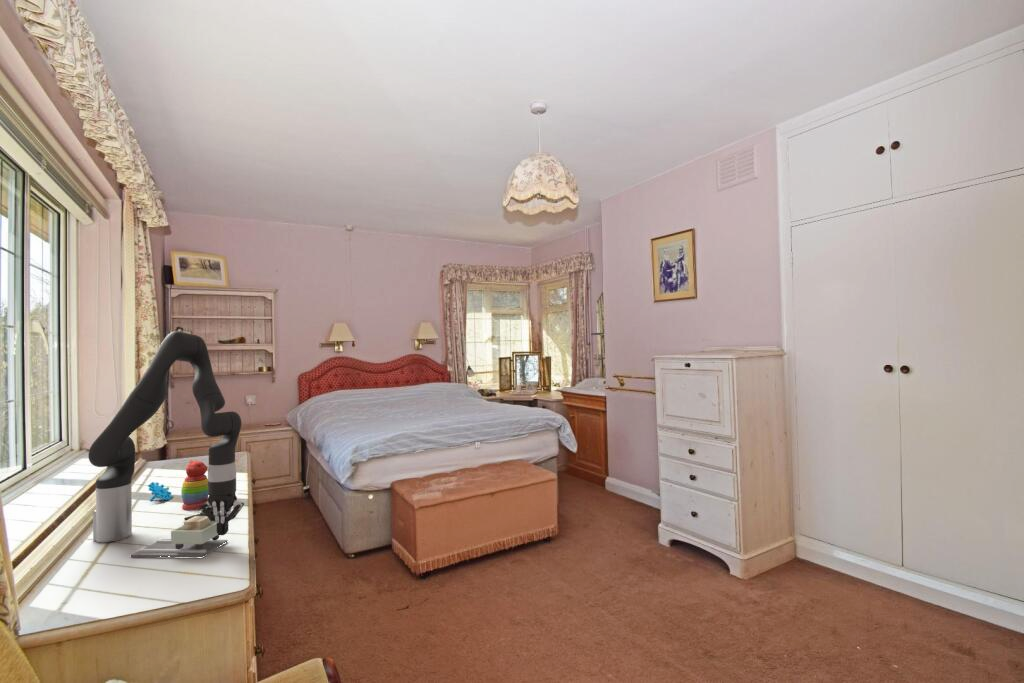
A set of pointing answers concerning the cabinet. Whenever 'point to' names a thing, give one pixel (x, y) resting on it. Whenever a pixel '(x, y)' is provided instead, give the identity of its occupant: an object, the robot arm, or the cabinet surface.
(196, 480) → the stacking bear
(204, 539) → the mint green tray
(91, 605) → the cabinet surface
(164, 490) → the blue bumpy figure
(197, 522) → the block
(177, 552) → the track
